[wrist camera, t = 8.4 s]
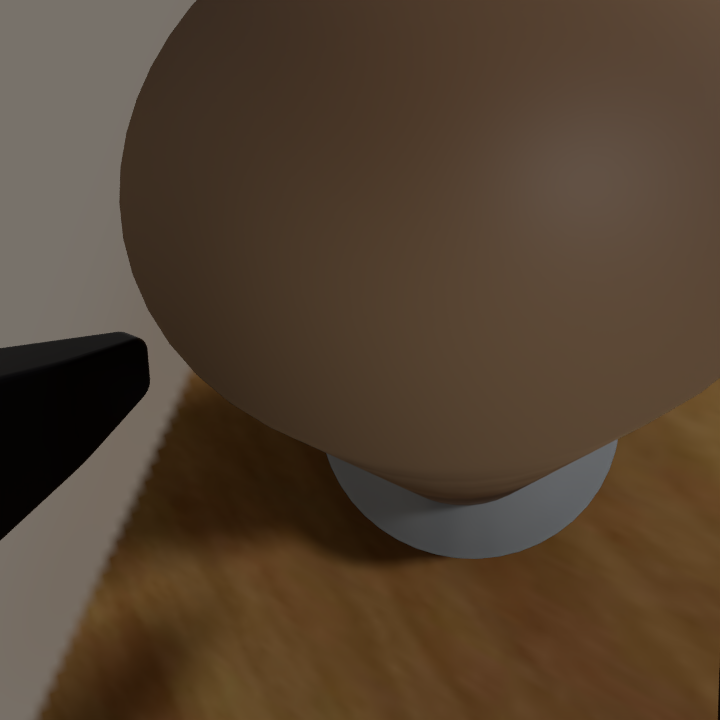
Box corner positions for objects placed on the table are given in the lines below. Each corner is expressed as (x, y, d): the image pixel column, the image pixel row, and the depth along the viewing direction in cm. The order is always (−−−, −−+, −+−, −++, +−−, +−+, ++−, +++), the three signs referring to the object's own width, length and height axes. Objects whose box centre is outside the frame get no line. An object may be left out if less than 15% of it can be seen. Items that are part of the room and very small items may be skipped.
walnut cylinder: (512, 544, 15) (683, 643, 3) (330, 449, 17) (2, 286, 5) (593, 356, 16) (951, -95, 4) (413, 286, 18) (306, -173, 6)
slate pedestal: (533, 604, 17) (546, 622, 14) (298, 476, 20) (270, 469, 17) (635, 359, 19) (666, 330, 16) (404, 270, 21) (395, 232, 18)
